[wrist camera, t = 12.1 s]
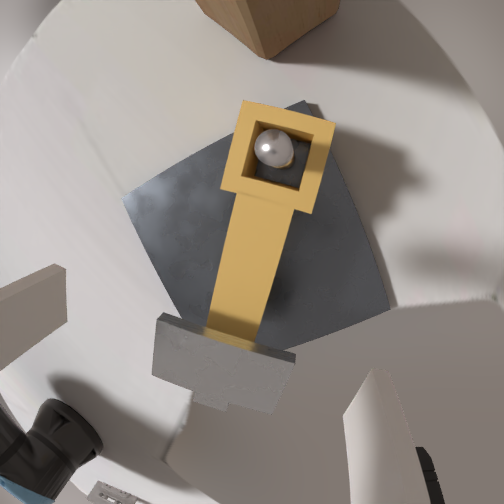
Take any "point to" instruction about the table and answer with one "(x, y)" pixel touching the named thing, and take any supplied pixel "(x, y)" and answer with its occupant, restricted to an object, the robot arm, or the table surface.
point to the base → (294, 250)
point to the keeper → (219, 365)
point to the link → (261, 215)
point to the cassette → (109, 495)
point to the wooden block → (268, 20)
